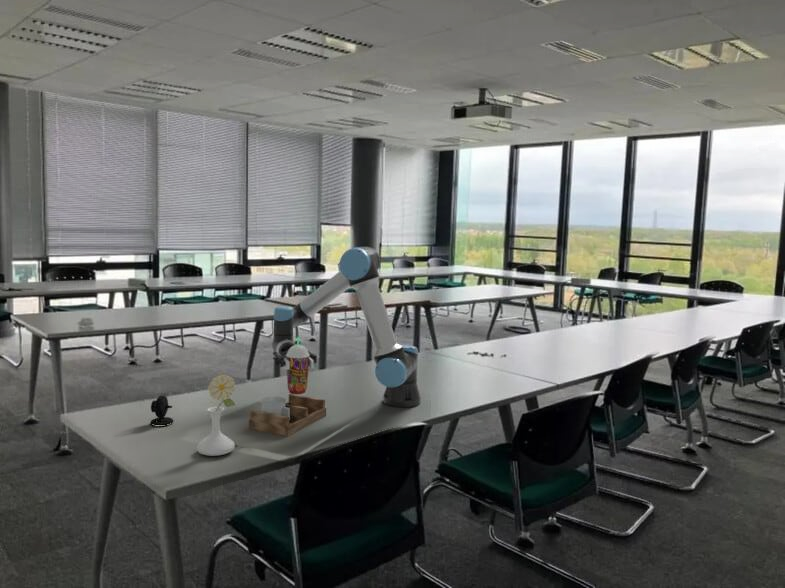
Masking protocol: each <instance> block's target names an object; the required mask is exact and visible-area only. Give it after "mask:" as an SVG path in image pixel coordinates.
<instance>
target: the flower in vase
mask: <svg viewBox="0 0 785 588" xmlns="http://www.w3.org/2000/svg"><path fill="white" fill-rule="evenodd" d="M236 388H237V385H236V382H235V379H234V378H232V377H231V376H229V375H225V374H221V375H217V376H216V377H213V378H212V380H211V381H210V382H209V385H208V387H207V390H208V393H209V394H210V395H209V396H210V397H211V398H213V399H214V400H217V401H221V402H220V403H219V404H218V403H217V402H216V401H213V400H212V399H209V398H207V400H208V401H209V402H211V403H212V404H215V405H217V406H212V407H211V406H210V407H208V408H207V409H206V410H207V412H208V413H209V416H210V419H211V431H210V433H209V434H208V435H207V436H205V438H203V439H202V440H201V441H200V442H199V443H198V444H197V447H196V451H197V452H198V453H199V454H201V455H204V456H208V457H209V456H210V457H211V456H212V457H215V456H222V455H226V454H228V453H230V452H232V451H233V450H234V449H235V447H236V445H235V442H234V441H233V440H232V439H231V438H230V437H228V436H226V435H225V434H224V433H222V431H221V428H220V426H221V425H220V423H221V416H222V413H223V412H224V410H225V408H224V407H221V405H222V403H223V404H224V406H225V407H227V408H230V407H234V406H236V403H235V402H234V401H233V400H232V398H230V397H232V395H233V393H234V392H235V390H236Z"/></svg>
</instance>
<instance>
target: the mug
mask: <svg viewBox="0 0 785 588" xmlns="http://www.w3.org/2000/svg"><path fill="white" fill-rule="evenodd" d="M285 403H286V398H284V397H282V396H269V397H264V398H262V399H261V412H264V413H269V414H275V415H280V416H286V417H289V421H290V408H287V407H285Z"/></svg>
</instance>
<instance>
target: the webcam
mask: <svg viewBox="0 0 785 588" xmlns="http://www.w3.org/2000/svg"><path fill="white" fill-rule="evenodd" d="M168 400H169V399H168V397H167V396H166V395H159V396H158V397H157V398H156V400H152V401H151V404H150V411H151V412H152V413H154V414H155V416H156V418H153V419H151V420H150V423H151V424H154V425H167V424H170V423H172V422H173V423H174V418H171V417H170V416H169V417H168V416H166V415H167V414H168V413H167V412H168V410H169V409H172V408H173V406H172V405H169V401H168ZM156 421H159V422H156ZM173 423H172V424H173ZM151 424H150V425H151Z"/></svg>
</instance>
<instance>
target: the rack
mask: <svg viewBox="0 0 785 588" xmlns="http://www.w3.org/2000/svg"><path fill="white" fill-rule="evenodd" d="M285 407H287V408H290V421H289V417H286V416H280V415H275V414H269V413H264V412H262V411H258V410H252V409H251V410H250V412H249V413H250V415H249V419H248V429H249V430H253V431H254V430H255V431H261V432H265V433H270V434H274V435H275V434H276V435H280V436H286V437H290V436H292V435H294V434H295V433H297V432H299V431H301V430H303V429H304V428H307V427H309V426H310V425H312V424H314V423H316V422H317V421H320V420H321V419H324V418H325V417H326V416H327V407H326V399H324V398H317V397H311V396H307V395H306V396H304V395H301V394H291V393H290V394H288V401H287V402H285Z"/></svg>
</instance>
